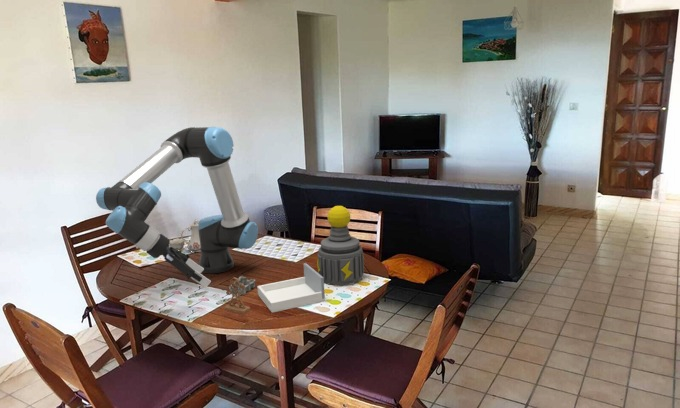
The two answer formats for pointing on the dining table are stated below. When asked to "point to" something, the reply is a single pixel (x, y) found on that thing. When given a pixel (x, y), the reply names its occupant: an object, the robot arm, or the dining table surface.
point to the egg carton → (248, 287)
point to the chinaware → (193, 242)
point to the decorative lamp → (340, 251)
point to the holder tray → (293, 291)
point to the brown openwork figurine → (232, 305)
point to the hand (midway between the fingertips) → (204, 277)
